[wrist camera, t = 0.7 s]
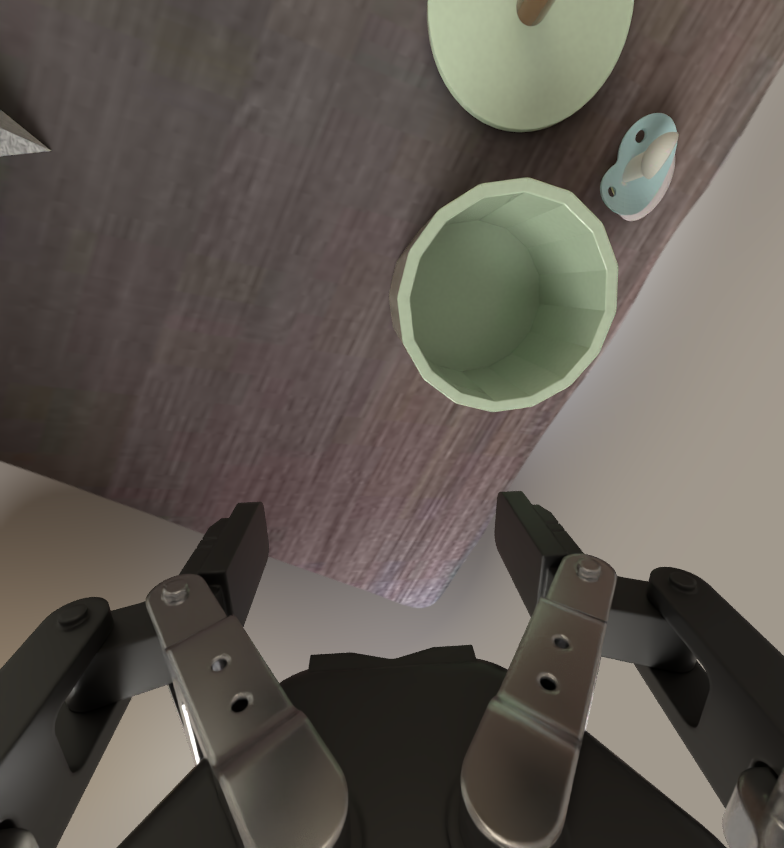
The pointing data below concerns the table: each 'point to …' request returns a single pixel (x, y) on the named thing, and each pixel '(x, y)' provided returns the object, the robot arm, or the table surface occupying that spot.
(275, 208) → the table surface
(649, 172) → the pacifier
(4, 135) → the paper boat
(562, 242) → the crock
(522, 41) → the lid
